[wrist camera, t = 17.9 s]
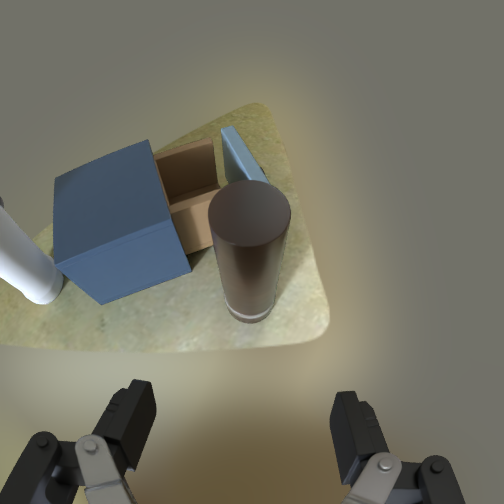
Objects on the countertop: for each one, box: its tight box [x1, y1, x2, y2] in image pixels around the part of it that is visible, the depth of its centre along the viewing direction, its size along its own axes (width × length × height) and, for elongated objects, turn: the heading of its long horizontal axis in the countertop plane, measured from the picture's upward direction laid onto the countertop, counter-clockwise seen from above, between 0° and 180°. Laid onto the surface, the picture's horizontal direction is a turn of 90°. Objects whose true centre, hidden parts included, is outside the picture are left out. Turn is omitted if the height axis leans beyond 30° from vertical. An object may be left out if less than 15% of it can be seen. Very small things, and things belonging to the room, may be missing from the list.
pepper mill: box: [208, 180, 291, 323], centre depth 20 cm, size 4×4×13 cm
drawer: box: [153, 126, 271, 255], centre depth 26 cm, size 10×8×7 cm
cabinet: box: [53, 140, 192, 305], centre depth 25 cm, size 9×9×8 cm
